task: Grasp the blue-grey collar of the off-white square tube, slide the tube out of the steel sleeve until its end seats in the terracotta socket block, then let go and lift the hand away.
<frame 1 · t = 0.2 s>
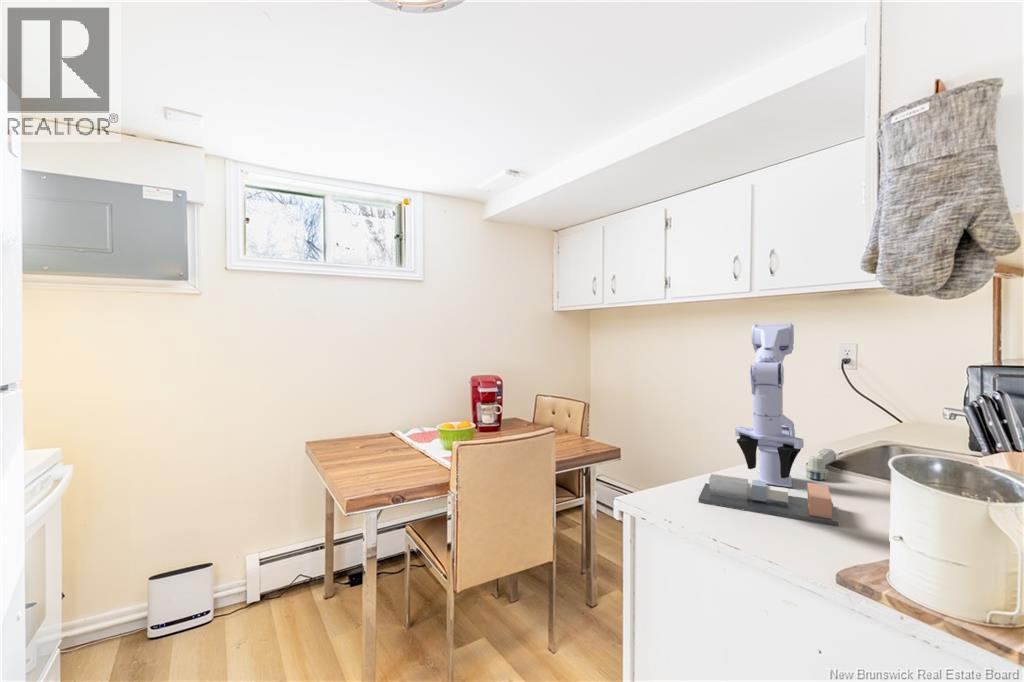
hand: (767, 472, 101), 10 cm above the worktop, tool pointing down, fingers open, 7 cm apart
handheld shower head: (822, 471, 131), on the worktop
socket block: (818, 499, 101), point 3 cm above the worktop
sleeve base: (773, 505, 106), on the worktop
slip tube: (749, 489, 108), point 3 cm above the worktop, slide at 0.0 cm
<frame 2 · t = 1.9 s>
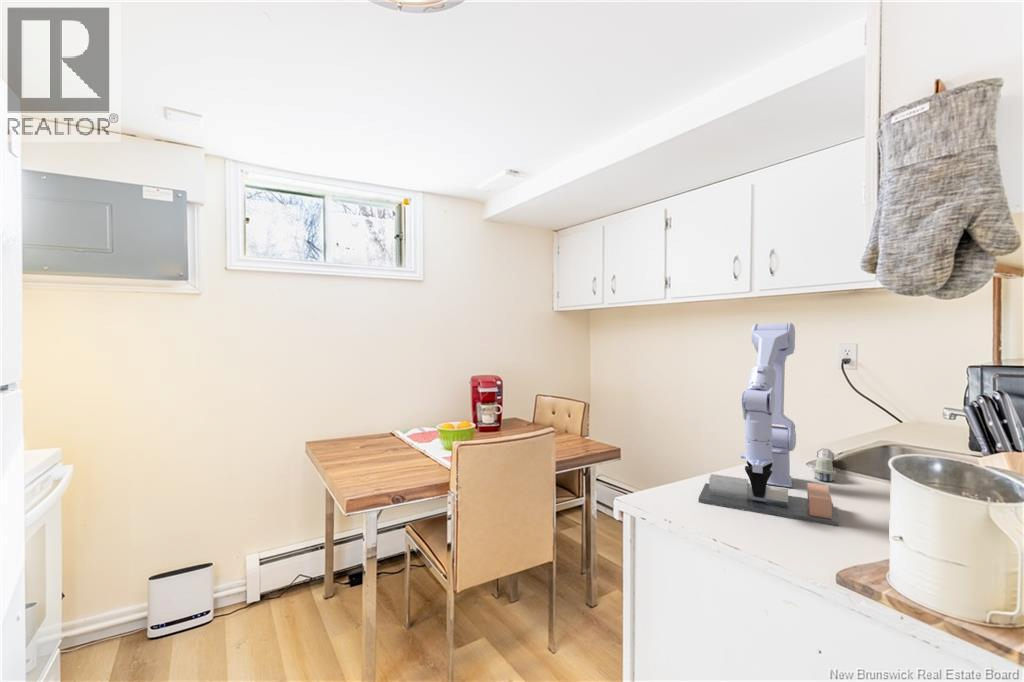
hand: (759, 493, 107), 2 cm above the worktop, tool pointing down, fingers closed on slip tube, 4 cm apart
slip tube: (749, 489, 108), point 3 cm above the worktop, slide at 0.0 cm, touching gripper
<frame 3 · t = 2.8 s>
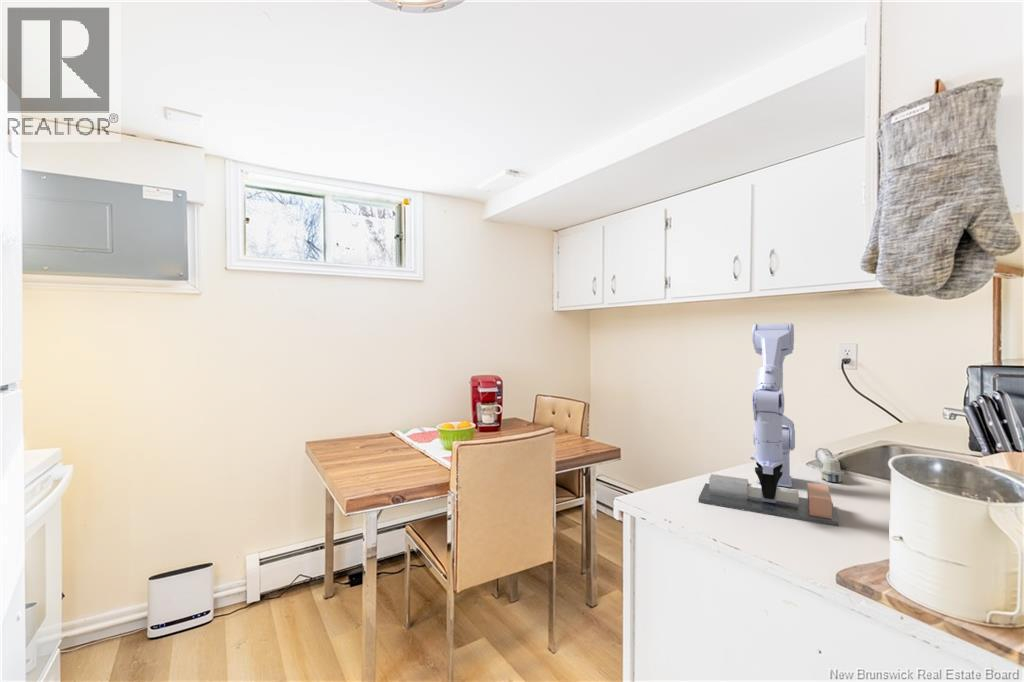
hand: (769, 495, 106), 2 cm above the worktop, tool pointing down, fingers closed on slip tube, 4 cm apart
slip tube: (759, 490, 107), point 3 cm above the worktop, slide at 2.1 cm, touching gripper
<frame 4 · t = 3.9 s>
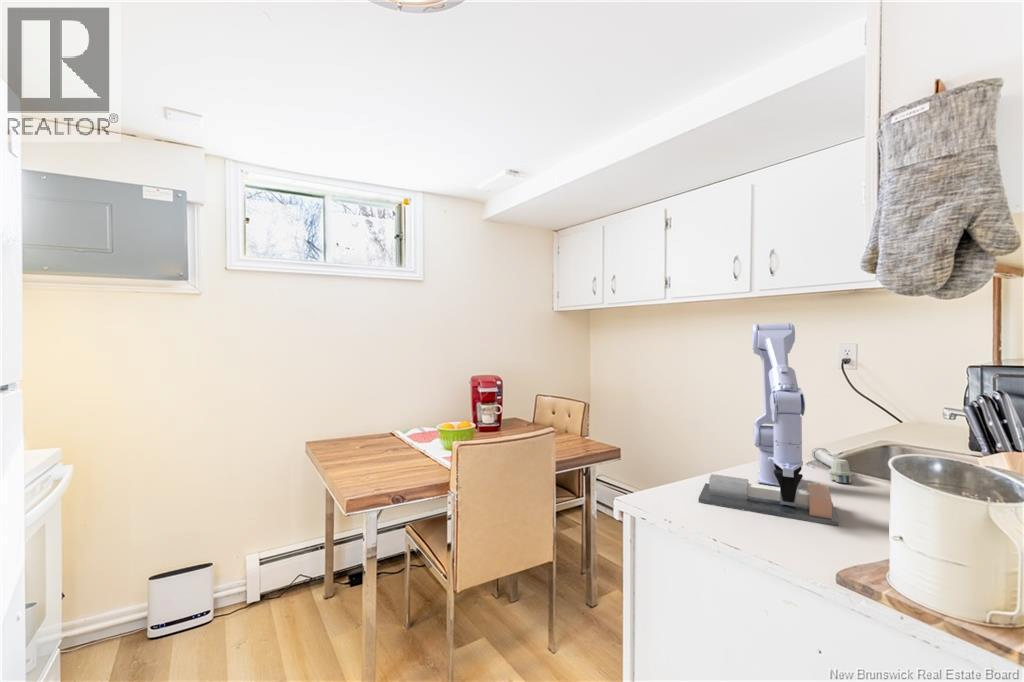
hand: (788, 498, 104), 2 cm above the worktop, tool pointing down, fingers closed on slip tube, 4 cm apart
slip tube: (777, 493, 105), point 3 cm above the worktop, slide at 5.9 cm, touching gripper
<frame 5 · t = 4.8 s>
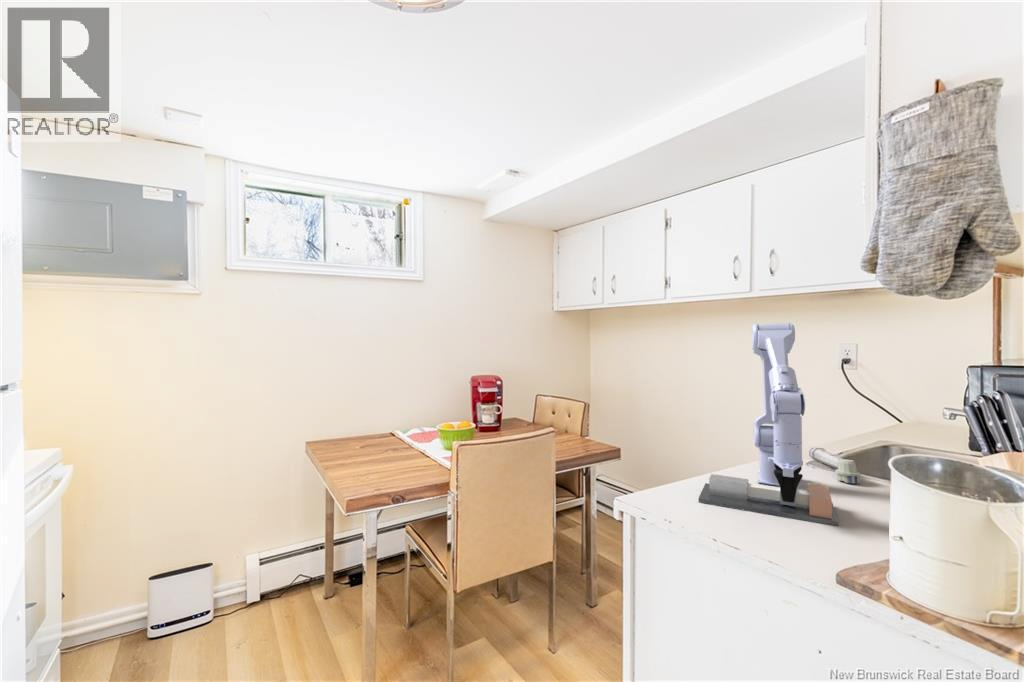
hand: (788, 498, 104), 2 cm above the worktop, tool pointing down, fingers closed on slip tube, 4 cm apart
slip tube: (777, 493, 105), point 3 cm above the worktop, slide at 5.9 cm, touching gripper
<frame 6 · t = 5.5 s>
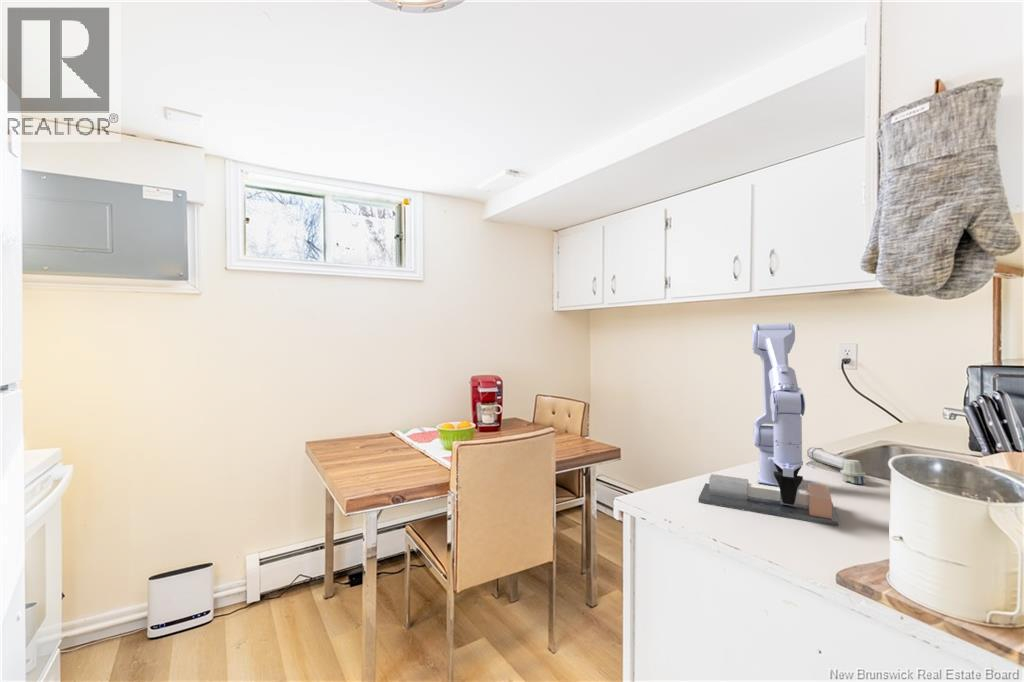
hand: (788, 498, 104), 2 cm above the worktop, tool pointing down, fingers open, 7 cm apart
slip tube: (777, 493, 105), point 3 cm above the worktop, slide at 5.9 cm
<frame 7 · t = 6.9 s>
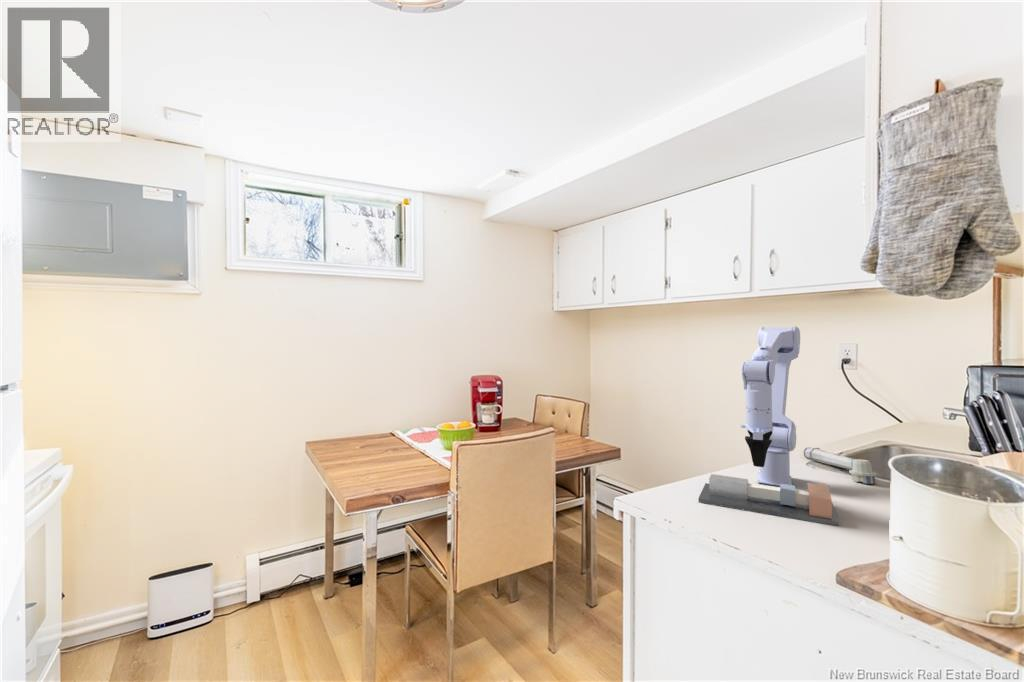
hand: (759, 462, 109), 9 cm above the worktop, tool pointing down, fingers open, 7 cm apart
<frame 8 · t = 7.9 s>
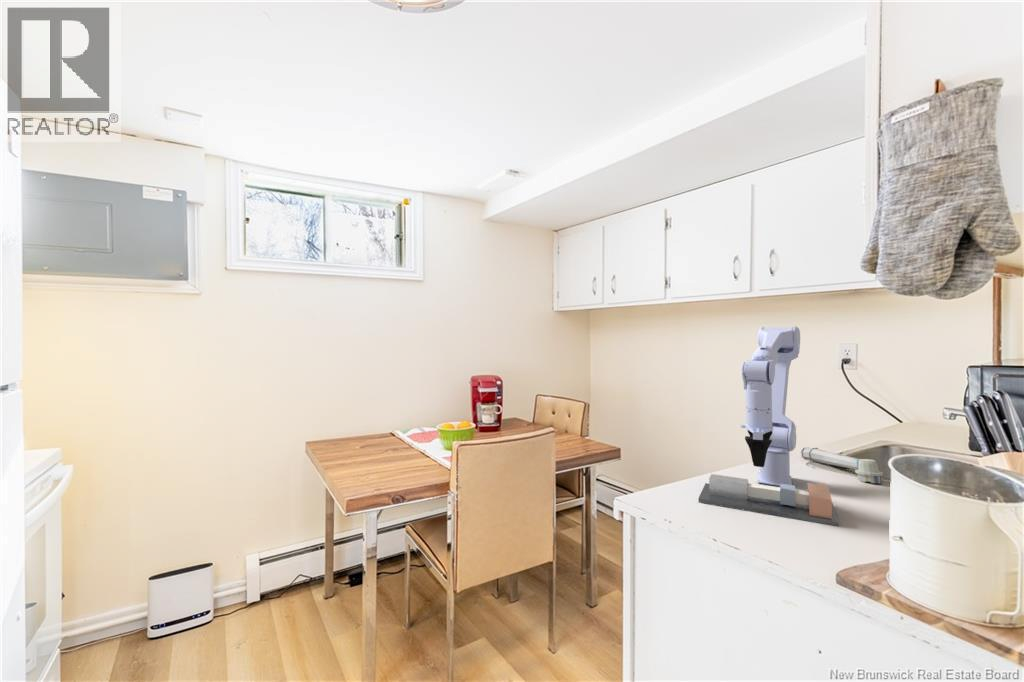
hand: (759, 462, 109), 9 cm above the worktop, tool pointing down, fingers open, 7 cm apart
at the end: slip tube slide at 5.9 cm; the gripper is holding nothing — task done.
